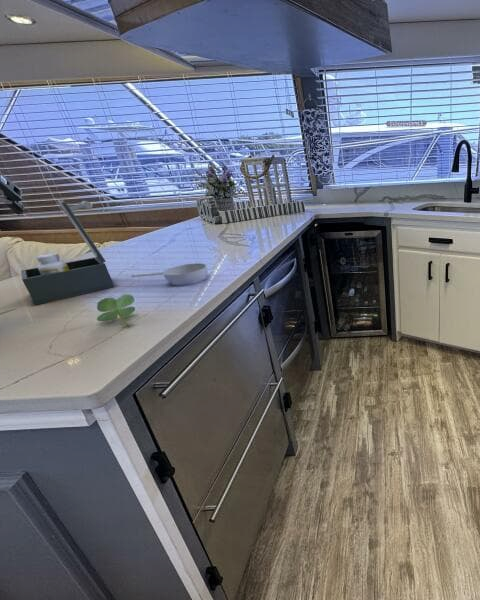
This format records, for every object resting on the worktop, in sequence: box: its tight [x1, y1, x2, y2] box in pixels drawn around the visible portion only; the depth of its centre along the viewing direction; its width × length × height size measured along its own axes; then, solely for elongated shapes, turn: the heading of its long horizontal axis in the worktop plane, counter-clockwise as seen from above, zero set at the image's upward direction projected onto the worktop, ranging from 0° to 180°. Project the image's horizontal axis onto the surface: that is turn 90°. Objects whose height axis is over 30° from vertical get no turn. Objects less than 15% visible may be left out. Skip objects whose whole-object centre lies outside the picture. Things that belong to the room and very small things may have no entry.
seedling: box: [96, 293, 136, 327], centre depth 68 cm, size 7×8×7 cm
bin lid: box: [56, 199, 107, 263], centre depth 89 cm, size 16×13×6 cm
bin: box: [20, 256, 115, 306], centre depth 88 cm, size 16×13×7 cm
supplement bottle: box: [36, 252, 69, 275], centre depth 85 cm, size 5×5×10 cm
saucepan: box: [131, 262, 208, 286], centre depth 91 cm, size 11×18×4 cm, turn 114°
